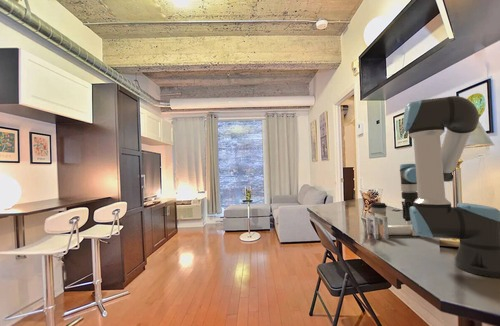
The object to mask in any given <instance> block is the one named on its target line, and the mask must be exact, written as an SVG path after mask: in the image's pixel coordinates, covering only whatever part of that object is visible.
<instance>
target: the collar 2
mask: <svg viewBox="0 0 500 326" xmlns="http://www.w3.org/2000/svg"><path fill="white" fill-rule="evenodd" d="M375 216H376V217H377V220H378V235H380V234H379V224H380V223H379V218H380V219H382V220H383V232H384V237H383V239H385V240H386V239H387V240H388V239H389V238H390V237H389V235H388V226H389V224H388V216H387V215H386V216H384V215H382V214H379V213H375Z"/></svg>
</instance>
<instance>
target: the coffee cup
mask: <svg viewBox="0 0 500 326" xmlns="http://www.w3.org/2000/svg"><path fill="white" fill-rule="evenodd" d="M369 207H370V209H371V214H372V215H374V216H375V213H379V214H382V215H384V216H386V217H387V207H388V206H387V204H386V203H385V202H371V203H370V205H369ZM379 223H380V224H381V225H383V220H382V219H380V218H379Z"/></svg>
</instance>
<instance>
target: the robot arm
mask: <svg viewBox="0 0 500 326" xmlns="http://www.w3.org/2000/svg"><path fill="white" fill-rule="evenodd" d="M402 119H403V120H402V128H403V129H402V130H403V131H404V132H408V136H409V137H410V138H411V139H413V150H414V153H413V154H414V163H401V164H400V165H399V176H400V190H401V199H403V201H401V205H402V206H401V207H402V218H403V220H404V221H405V225H412V235H411V236H413V237H418V236H420V237H422V238H424V237H425V238H431V239H433V238H437V239H438V238H439V239H452V240H453V239H455V240H456V239H458V240H459V246H458V248H457V252H456V255H455V257H454V264H455V266H456V267H457V268H459V269H461V270H463V271H466V272H468V273H470V274H474V275H478V274H479V276H482V275H484V276H483V277H488V276H490V277H489V278H496V277H500V210H499V209H498V208H496V207H492V206H488V205H482V204H477V203H468V202H467V203H466V202H457V204H456V207H455V206H452V203H451V201H449V200H448V199H447V197H446V191H445V189H446V188H445V187H446V186H445V182H447V183H449V182H454V181H453V175H452V172H454V171H455V169H456V166H457V167H458V163H459V161H460V159H461V156H462V154H463V152H464V149H465V147H466V144H467V142H468V139H469V137H470V135H471V133H473V132H474V131H475V130H476V129H477V128H478V127H477V126H478V124H479V121H480V114H479V110H478V107H476V105H475V104H474V103H473V102H472V101H470V100H469V99H467V98H465V97H462V96H459V95H458V96H457V95H453V96H452V95H451V96H444V97H437V98H436V97H435V98H430V99H429V98H428V99H420V100H416V101H410V102H409V103H408V104H406V106H405V108H404V113H403V118H402ZM445 129H446V130H445ZM445 131H446V132H445ZM444 133H445V135H444V138H443V141H442V144H441V136H442V135H443V134H444Z"/></svg>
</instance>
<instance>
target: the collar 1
mask: <svg viewBox="0 0 500 326" xmlns="http://www.w3.org/2000/svg"><path fill="white" fill-rule="evenodd" d="M371 220H372V225H373V238H374V239H375V240H378V239H379V234H378V220H377V217H376V216H374V215H372V213H370V212H366V213H365V224H366V226H365V227H366V233H367V234H368V235H371V234H372V229H371V228H372V227H371Z"/></svg>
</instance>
